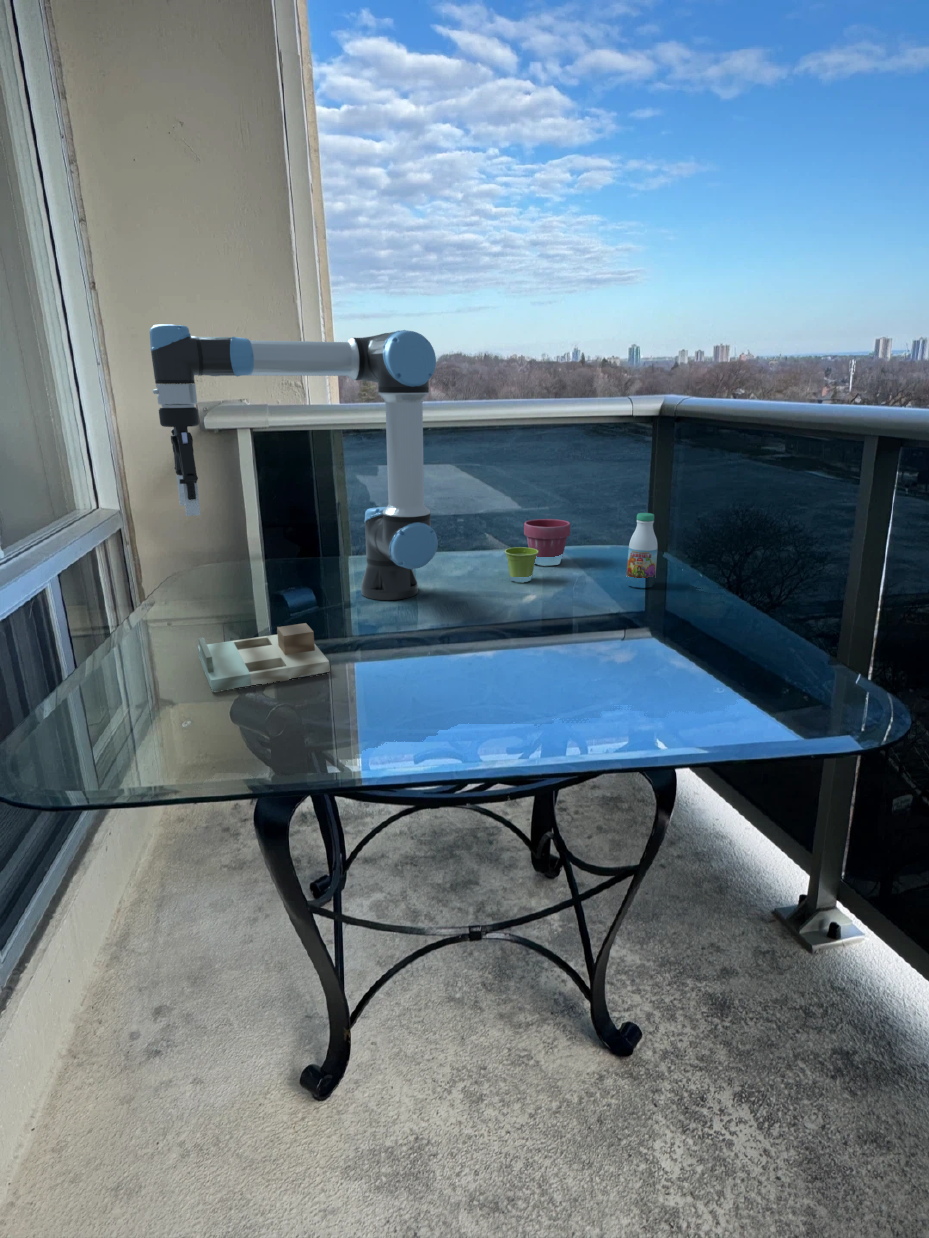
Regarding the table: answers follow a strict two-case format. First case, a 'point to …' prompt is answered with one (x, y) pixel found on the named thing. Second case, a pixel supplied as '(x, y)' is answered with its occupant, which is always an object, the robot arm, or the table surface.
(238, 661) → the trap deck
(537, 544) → the plant pot
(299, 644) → the block
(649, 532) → the milk bottle
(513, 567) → the plant pot
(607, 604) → the table surface
